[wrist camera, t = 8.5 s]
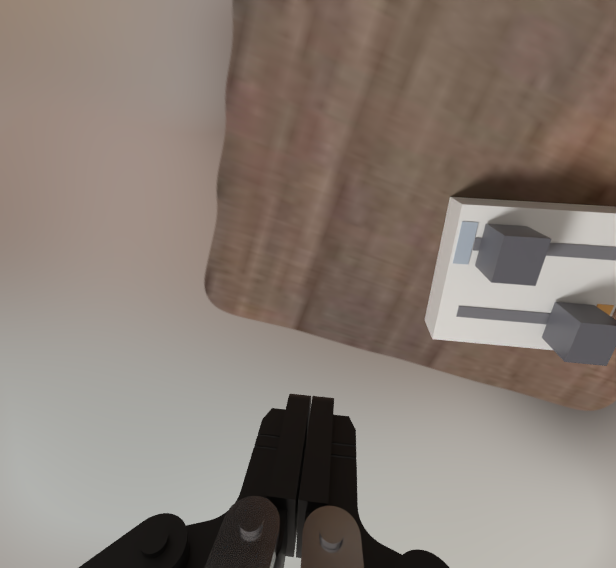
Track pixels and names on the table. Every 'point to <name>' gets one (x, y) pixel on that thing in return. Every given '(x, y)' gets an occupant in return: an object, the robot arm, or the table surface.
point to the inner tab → (512, 254)
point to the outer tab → (581, 333)
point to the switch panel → (510, 297)
